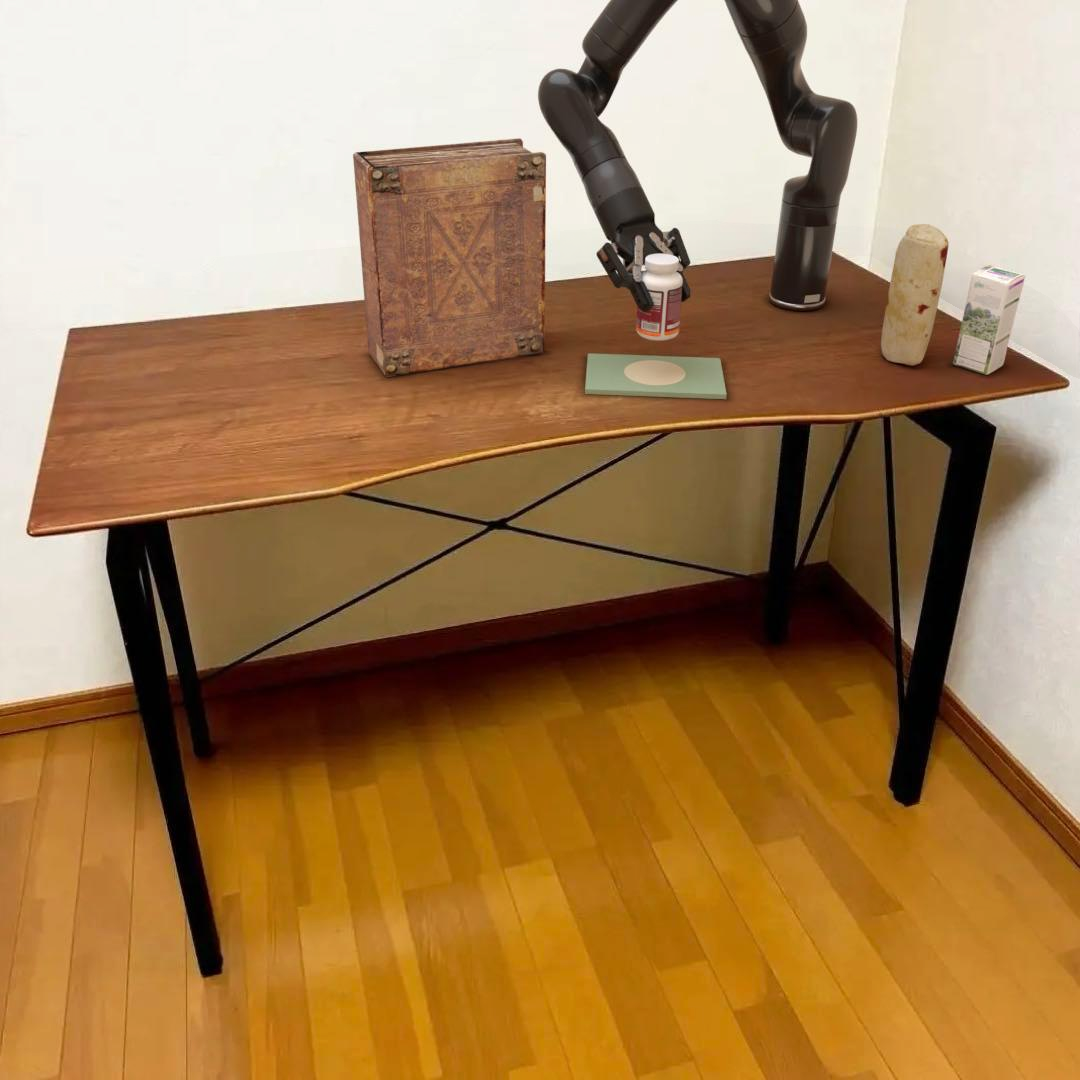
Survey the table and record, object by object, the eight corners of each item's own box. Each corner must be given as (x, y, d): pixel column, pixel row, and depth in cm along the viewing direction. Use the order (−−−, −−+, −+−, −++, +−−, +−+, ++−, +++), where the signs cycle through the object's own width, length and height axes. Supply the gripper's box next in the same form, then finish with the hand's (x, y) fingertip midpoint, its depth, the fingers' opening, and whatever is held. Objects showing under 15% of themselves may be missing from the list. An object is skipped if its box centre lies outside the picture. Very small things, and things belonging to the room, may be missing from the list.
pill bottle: (671, 324, 163) (677, 250, 157) (684, 340, 158) (691, 264, 152) (630, 326, 162) (635, 252, 156) (641, 343, 157) (647, 267, 151)
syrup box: (1004, 365, 169) (1027, 272, 161) (986, 376, 166) (1009, 282, 158) (968, 354, 173) (990, 263, 165) (950, 365, 169) (971, 272, 161)
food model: (936, 369, 168) (964, 237, 157) (894, 371, 167) (920, 239, 156) (907, 344, 176) (933, 217, 165) (867, 346, 175) (890, 219, 164)
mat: (587, 358, 170) (587, 352, 169) (719, 362, 169) (720, 357, 168) (584, 394, 159) (585, 388, 158) (726, 399, 158) (726, 393, 157)
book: (522, 332, 178) (523, 137, 162) (544, 354, 171) (548, 152, 155) (367, 355, 170) (352, 151, 154) (384, 378, 163) (370, 167, 147)
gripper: (590, 192, 151) (642, 302, 150) (670, 177, 159) (719, 282, 157) (565, 222, 158) (614, 327, 156) (643, 206, 165) (690, 306, 163)
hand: (667, 304), depth 157 cm, fingers closed on pill bottle, 6 cm apart
